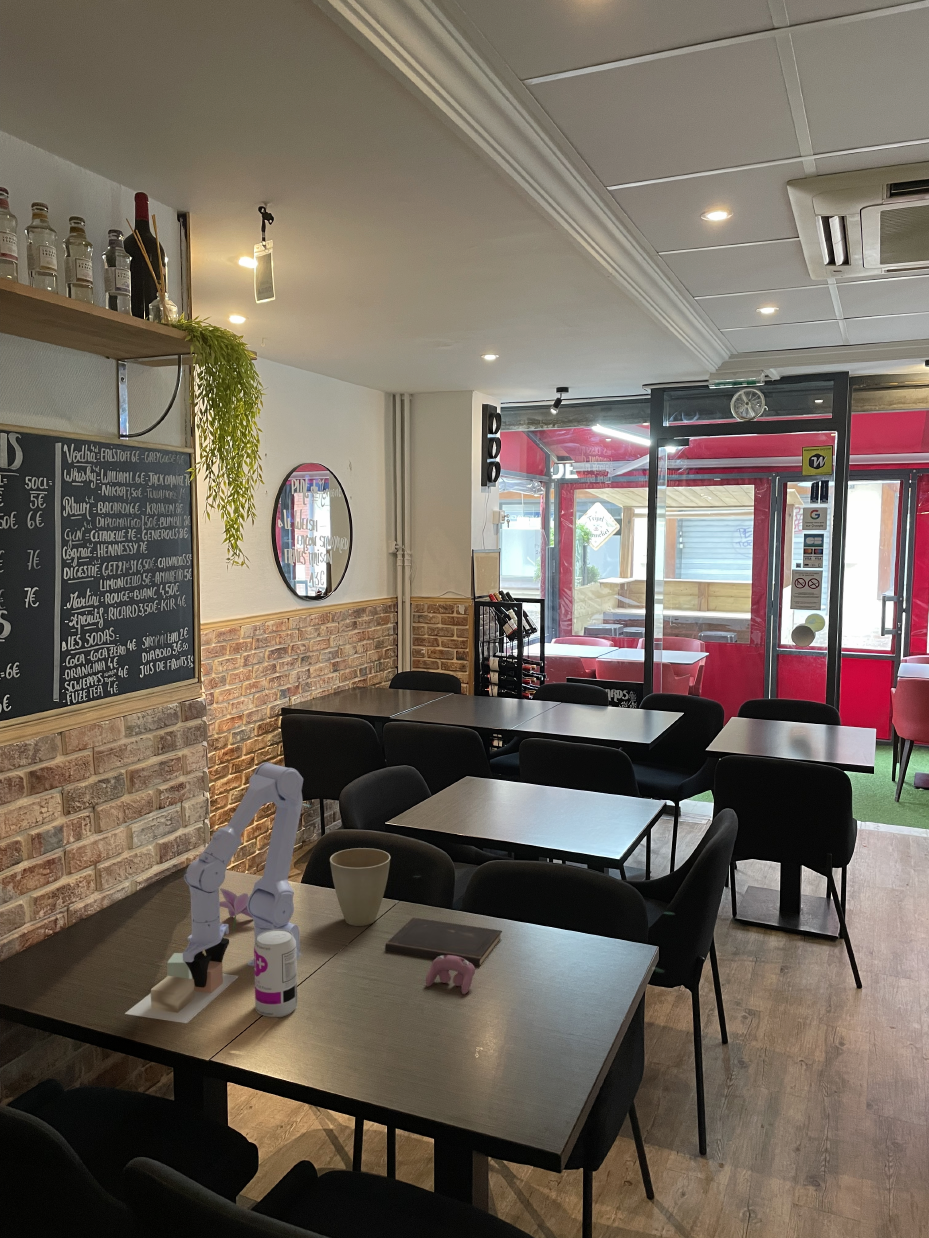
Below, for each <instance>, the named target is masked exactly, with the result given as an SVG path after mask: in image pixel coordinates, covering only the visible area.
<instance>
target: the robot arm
mask: <svg viewBox="0 0 929 1238" xmlns="http://www.w3.org/2000/svg"><path fill="white" fill-rule="evenodd" d="M303 783H304V777H302V775H301V774H300V772H299V770H297V769H295V768H293V767H286V766H281V765H277V764H274V763H272V762H268V761H266V762H262V763H261V764H259V765H258V766H257V767H256V768H255V771H254V773H253V774H252V775H251V776H250V778H249V782H248V788H247V791H246V792H245V794H244V795H243V798H242V799H241V801H240V803H239V804H238V806H237V807H236V809H235V811H234V813H233V814H232V817H231V818H230V820H229V822H228V824H227V825H226V826H223V827H219V828H218V829H217V830H216V831H215V832H213V834H212V835H211V840H210V841H209V842H208V844H207V846H206V847H205V848H204V850H203V852H202V853H200V855H199V857H198V858H196V859H195V860H193V861H192V862H191V863H190V864H189V865H188V867H187V869H186V872H185V874H183V879H184V881H185V883H186V884H187V885H188V886H189V893H190V914H191V915H190V916H191V934H190V935H189V936H187V941H188V945H187V946H186V948H185V950H183V951H182V953H183V961H184V962H185V963H186V964H187V966H188V968H189V969H190V972H191V974H192V977H193V979H194V984H195V987H202V988H204V987H205V986H206V982H207V970H208V965H209V962H210V961H214V962H222V963H223V960H224V956H225V954H226V950H227V948H228V946H229V945H230V939H229V938H226V937H224V935H225V936H226V935H228V934H229V932H230V931H229V930H230V929H229V924H228V923H221V914H220V913H221V911H220V908H221V907H220V905H219V902H220V887H221V886H222V885H223V884H224V883H225V879H226V871H227V869H228V865H229V863H230V862H231V860H232V859H233V857H234V855H235V854H236V852H237V851H238V849H239V847H240V846H241V845H242V836H241V835H242V833H243V832H244V830H246V828H247V827H248V825H249V824H250V823H251V821H252V820H253V819H254V817H256V815H257V813H259V810H260V809H261V808H262V806H264V805H266V804H269V803H270V804H271V803H273V804H274V805H275V806H276V808H275V809H276V810H275V814H274V820H273V824H272V830H271V835H270V839H269V840H270V841H269V843H268V849H267V854H266V855H267V856H266V859H265V865H264V870H263V874H262V877H261V878H259V879H258V880H256V881H255V882H254V884H253V888H252V891H251V892H250V895H248V896H249V898H248V901H247V910H248V912H249V913H250V914H251V915H252V916H253V918H252V921H253V925H254V927H253V928H254V943H255V942H256V940H257V937H258V936H259V935H260V934H261V933H263V932H265V931H269V930H275V929H283V930H288V931H290V932H291V933H292V934H293V937H294V939H295V940H296V961H297V960H298V959H299V958H300V957H301V956H302V953H301V952H300V951H301V949H300V947H301V946H300V942H301V941H300V928H299V926H298V925H297V924H294V923H292V922H291V921H290V920H291V919H292V917H293V915H294V911H295V906H294V892H295V891H294V889H293V888H292V886H291V885H290V882H289V881H288V879H289V874H290V869H291V865H292V859H293V855H294V854H293V853H294V848H295V844H296V839H297V833H298V829H299V822H300V818H301V813H302V807H303V800H304V798H303V793H302V790H303ZM204 951H205V952H204ZM203 952H204V953H203ZM247 966H251V967H254V957H253V958H252V959H250V961H249V962H248V963H247Z"/></svg>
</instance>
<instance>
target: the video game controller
mask: <svg viewBox="0 0 929 1238" xmlns="http://www.w3.org/2000/svg"><path fill="white" fill-rule="evenodd" d="M475 967H476V966H473V964H471V963H470V962H468V961H467V960H465V959H464V958H461V957H458V956H453V955H445V956H438V957H437V958H436V959H435V960H434V959H433V961H432V963H431V965H430V968H429V970H428V972H427V974H426V978H425V985H426V987H430V986H432V985H433V984H434V982H435V981H436V979H437V977H438V978H439V981H440V982H441V983H443V984H448V983H450V981H451V980H452V983H453V984H454V985H455V986H457V987H460V988H461V993H462V995H466V994H467V993H468V992H469V990H470V989H471V985H472V983H473V977H474V975H475V973H476V968H475ZM450 971H454V972H456V973H455V974H454V976H453V978H452V974H451V972H450Z"/></svg>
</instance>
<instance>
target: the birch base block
mask: <svg viewBox="0 0 929 1238" xmlns="http://www.w3.org/2000/svg"><path fill="white" fill-rule="evenodd" d="M150 993H151V1009H156V1010H162V1011H169V1012H176V1013H178V1012H179V1011H180V1010H181V1009H183V1008H184V1007H185V1006H186V1005H187V1004H188V1003H190V1002H191V1001H192V1000H193V999H194V979H188V978H181V977H173V976H166V977H165V978H164V979H162V980H161V981H160V982H158V983H157V984H156V985H154V986H153V987H152V988H151V989H150Z"/></svg>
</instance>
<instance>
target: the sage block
mask: <svg viewBox="0 0 929 1238" xmlns="http://www.w3.org/2000/svg"><path fill="white" fill-rule="evenodd" d="M166 968H167V969H166V971H167V972H166V973H167V976H173V977H181V978H188V979H192V974H191V972H190V969H189V968H188V966H187V964H186V963H185V962H184V961H183V952H174V953H172V955H171V956H170V958H169V959H168V960H167V962H166ZM167 976H166V977H167Z"/></svg>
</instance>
